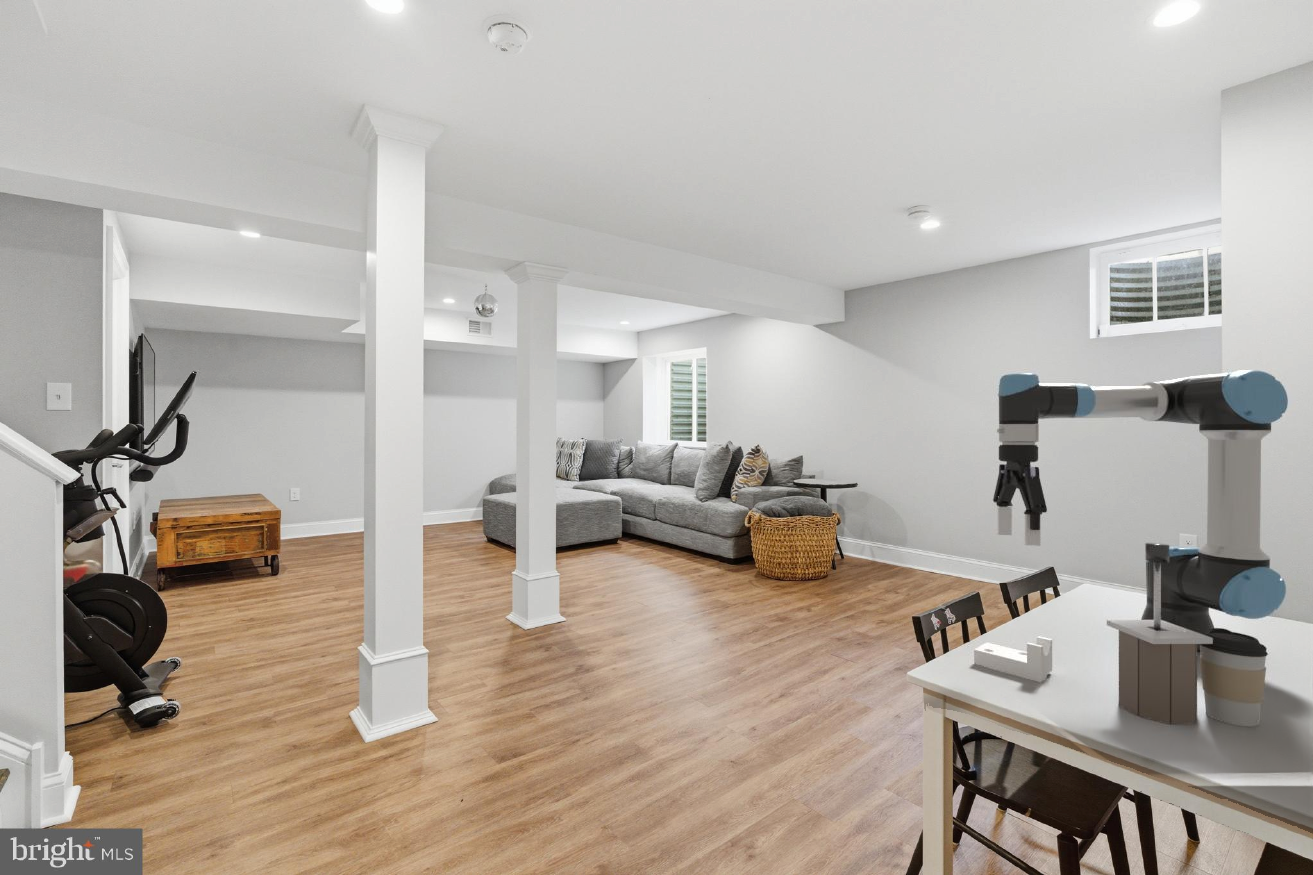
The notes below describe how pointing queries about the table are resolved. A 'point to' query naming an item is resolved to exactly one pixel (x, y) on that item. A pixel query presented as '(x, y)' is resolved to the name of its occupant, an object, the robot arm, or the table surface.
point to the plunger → (1157, 575)
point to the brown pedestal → (1158, 670)
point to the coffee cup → (1233, 676)
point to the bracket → (1018, 659)
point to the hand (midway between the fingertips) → (1017, 539)
